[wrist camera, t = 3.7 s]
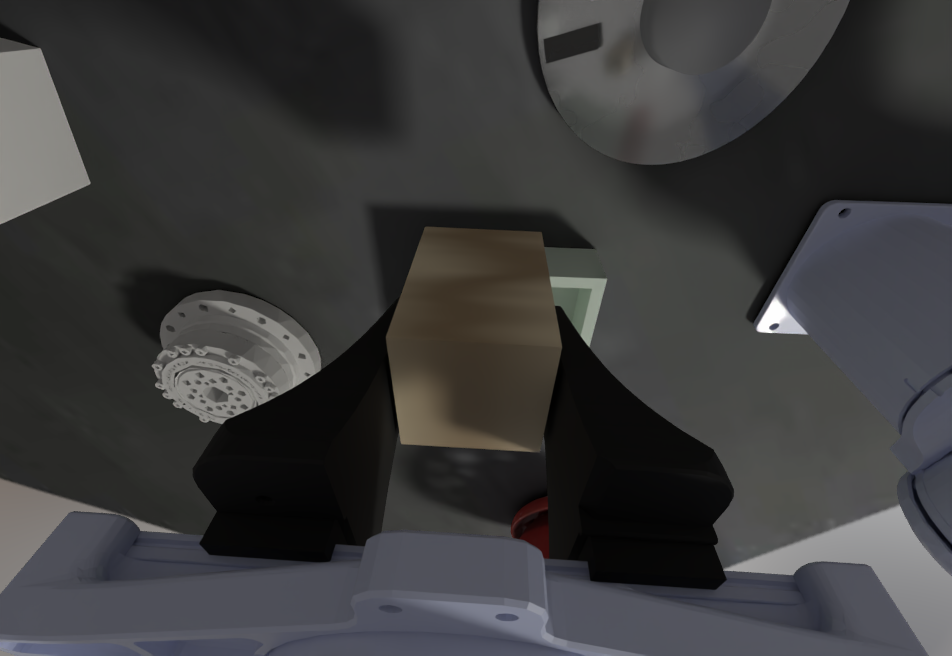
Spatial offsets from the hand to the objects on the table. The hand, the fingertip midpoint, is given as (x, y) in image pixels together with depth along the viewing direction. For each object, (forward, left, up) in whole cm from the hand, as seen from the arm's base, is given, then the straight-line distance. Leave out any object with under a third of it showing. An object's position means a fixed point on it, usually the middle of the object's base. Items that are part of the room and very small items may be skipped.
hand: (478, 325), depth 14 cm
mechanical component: (+16, +11, -10) cm, 22 cm away
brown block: (0, 0, -2) cm, 2 cm away
